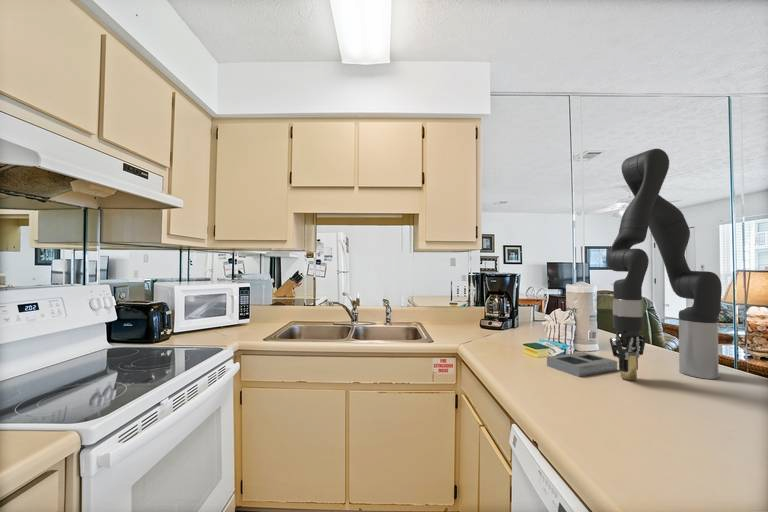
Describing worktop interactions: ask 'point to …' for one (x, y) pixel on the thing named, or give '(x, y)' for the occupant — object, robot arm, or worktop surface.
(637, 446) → the worktop surface
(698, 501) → the worktop surface
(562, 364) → the grey fitting block
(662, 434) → the worktop surface
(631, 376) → the gold and grey cylinder
